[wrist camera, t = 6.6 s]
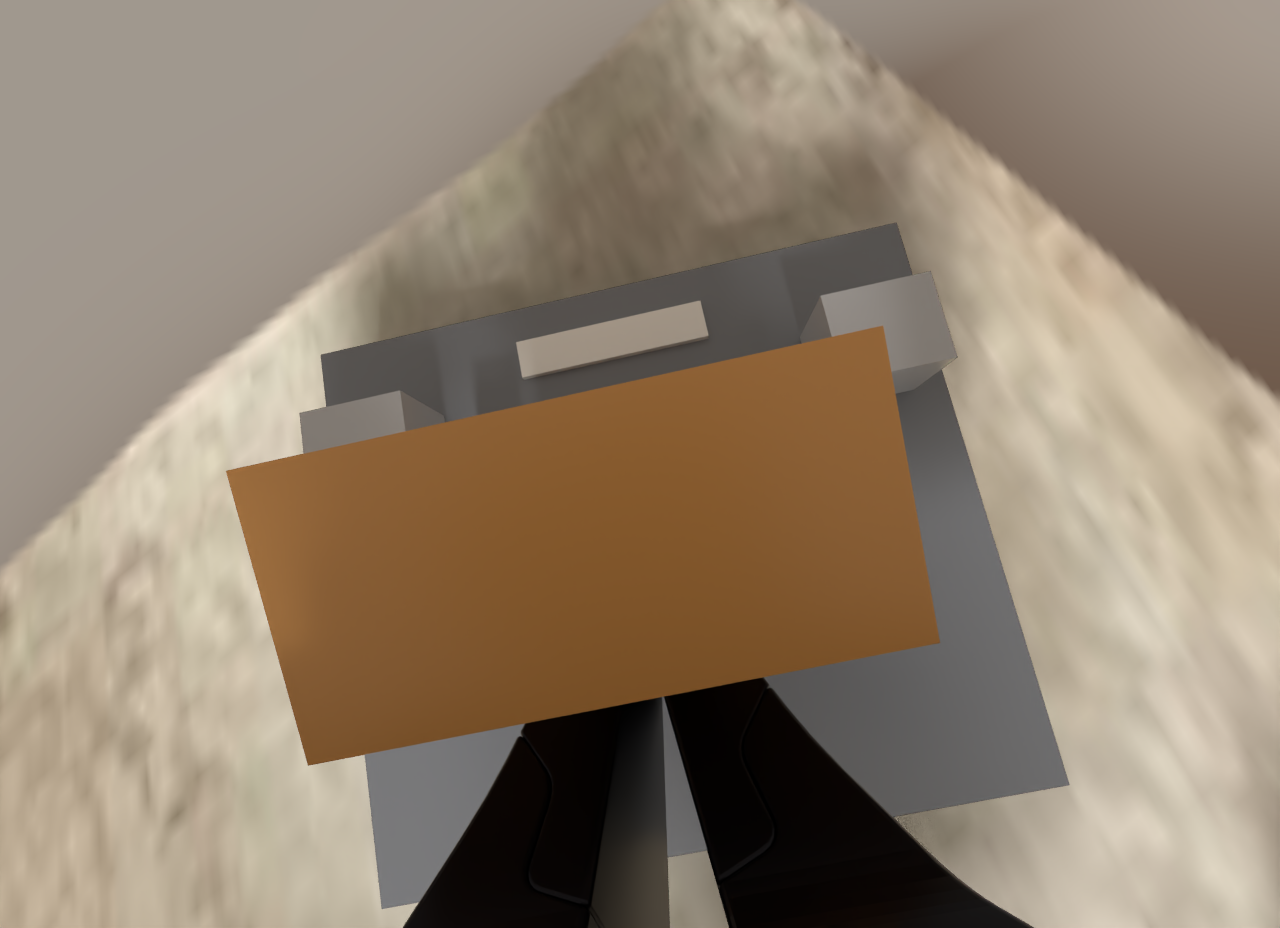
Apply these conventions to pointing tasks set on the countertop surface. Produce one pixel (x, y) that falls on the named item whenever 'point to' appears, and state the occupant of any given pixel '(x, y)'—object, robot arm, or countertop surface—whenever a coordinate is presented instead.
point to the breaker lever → (592, 549)
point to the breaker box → (819, 697)
